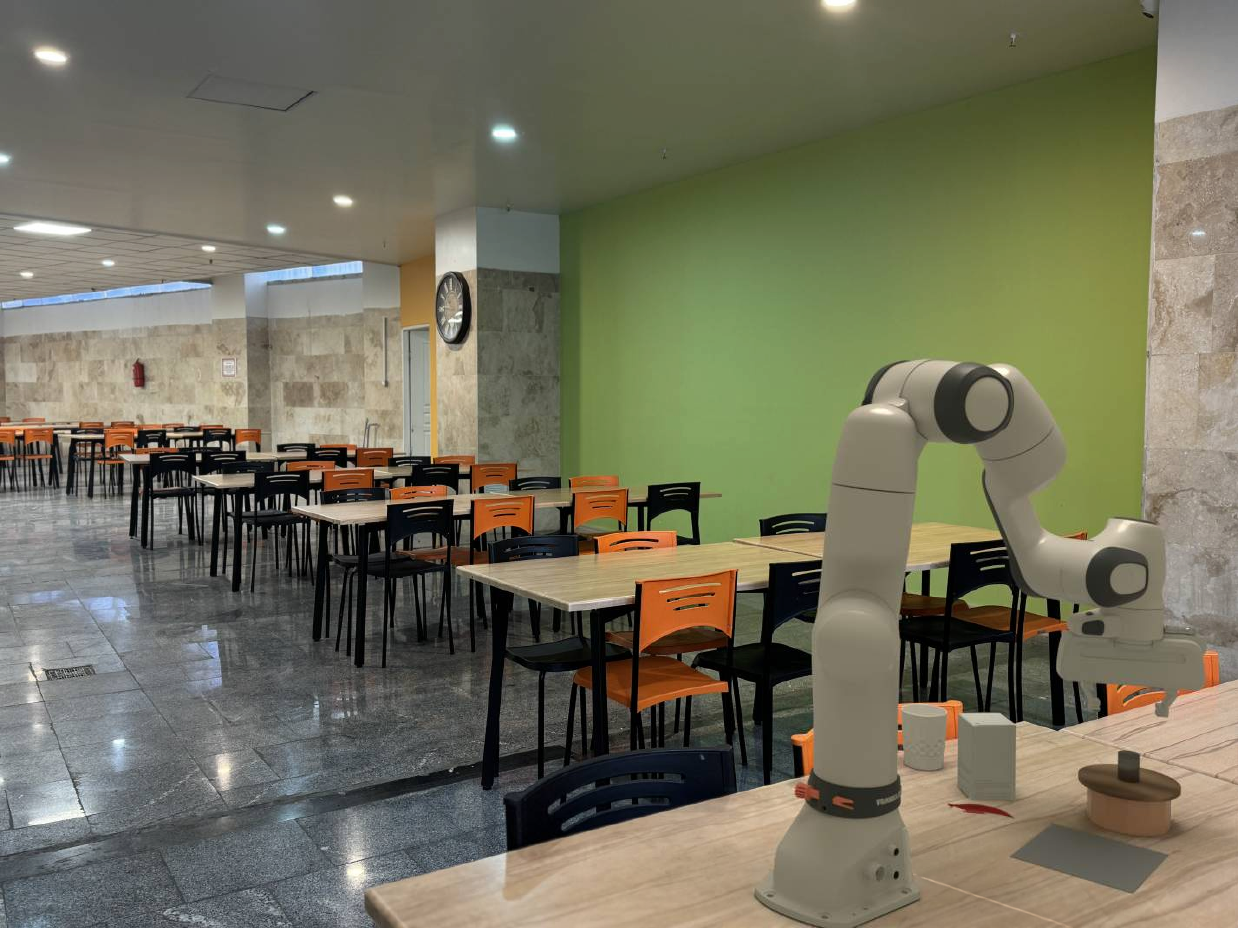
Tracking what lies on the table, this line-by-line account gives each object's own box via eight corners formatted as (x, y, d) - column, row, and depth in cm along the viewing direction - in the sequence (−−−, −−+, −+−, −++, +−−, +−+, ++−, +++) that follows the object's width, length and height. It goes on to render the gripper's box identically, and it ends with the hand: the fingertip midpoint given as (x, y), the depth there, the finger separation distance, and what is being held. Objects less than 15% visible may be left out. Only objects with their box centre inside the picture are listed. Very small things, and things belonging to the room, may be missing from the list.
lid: (1170, 809, 142) (1171, 776, 142) (1067, 786, 151) (1067, 755, 151) (1188, 781, 153) (1189, 751, 153) (1091, 762, 162) (1091, 733, 161)
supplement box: (1016, 802, 161) (1017, 725, 160) (970, 801, 161) (971, 724, 160) (1000, 785, 168) (1001, 711, 168) (956, 785, 168) (956, 711, 168)
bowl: (1156, 844, 144) (1157, 803, 144) (1077, 823, 152) (1078, 784, 152) (1178, 822, 152) (1178, 783, 152) (1102, 803, 160) (1102, 766, 160)
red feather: (938, 808, 159) (938, 796, 159) (954, 801, 162) (954, 790, 162) (1009, 832, 150) (1009, 819, 150) (1024, 824, 153) (1024, 812, 153)
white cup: (892, 759, 181) (892, 705, 181) (929, 755, 183) (929, 701, 183) (917, 774, 173) (918, 717, 173) (955, 769, 176) (956, 713, 175)
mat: (1132, 896, 128) (1132, 893, 128) (1009, 858, 140) (1009, 856, 140) (1168, 857, 140) (1168, 854, 140) (1052, 825, 151) (1052, 823, 151)
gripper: (1200, 624, 151) (1197, 713, 152) (1056, 615, 157) (1052, 701, 157) (1214, 632, 145) (1210, 725, 146) (1062, 622, 151) (1059, 712, 151)
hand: (1127, 713), depth 152 cm, fingers open, 8 cm apart
